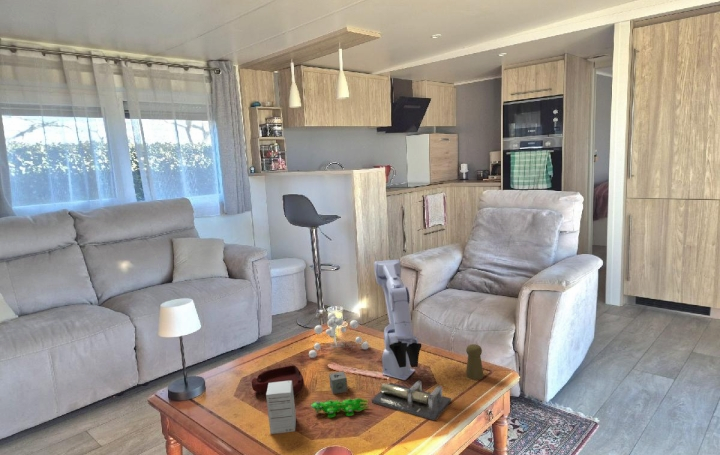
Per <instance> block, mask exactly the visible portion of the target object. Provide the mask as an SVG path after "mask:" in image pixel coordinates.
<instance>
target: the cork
mask: <svg viewBox="0 0 720 455" xmlns="http://www.w3.org/2000/svg"><path fill="white" fill-rule="evenodd" d="M482 352H483V350H482V347H481V345H478V344H475V343H473V344H469V345H468V346H467V347H466V354H467V361H466V362H467V363H466V364H467V365H466V370H465V371H466V372H465V376H466V378H467V379H469V380H472V381H478V380H482V379H483V378H485V375H484V369H483V363H482V356H481V355H482V354H483V353H482Z"/></svg>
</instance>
